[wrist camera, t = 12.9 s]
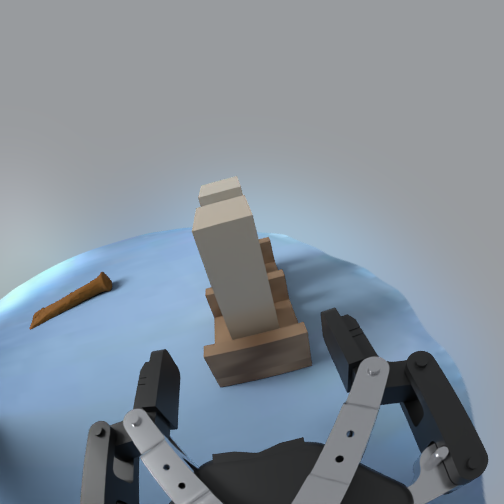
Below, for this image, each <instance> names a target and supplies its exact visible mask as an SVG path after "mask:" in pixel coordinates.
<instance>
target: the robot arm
mask: <svg viewBox="0 0 504 504" xmlns="http://www.w3.org/2000/svg"><path fill="white" fill-rule="evenodd" d="M321 322H322V332H323V338H324V341H325V344H326V346H327V348H328V351H329V353H330V355H331V357H332V360H333V362H334V364H335V366H336V368H337V371H338V373H339V375H340V378H341V380H342V382H343V384H344V387H345V389H346V391H347V393H348V392H350V393H349V396H348V398H347V401H346V402H345V403H344V404H343V406H342V408H341V410H340V412H339V415H338V417H337V420H336V422H335V424H334V426H333V429H332V431H331V433H330V435H329V437H328V440H327V442H326V444H322V443H316V442H304V438H303V437H302V438H299V439H295V440H291V441H287V442H282V443H279V444H277V445H275V446H273V447H271V448H268V449H266V450H264V451H261V452H259V453H247V452H228V453H220V454H212V456H213V460H211V461H209V462H207V463H205V464H203V465H202V466H200V467H199V466H198V465H196V464H195V463H194V462H193V461H192V460H191V459H190V458H189V457H188V456H187V455H186V453H185V452H184V451H183V450H182V449H181V448H180V447H179V445H178V444H177V443H176V442H175V441H174V440H173V438H172V437H171V436H170V430H174V429H178V407H179V390H180V372H179V369H178V367H177V365H176V364H175V362H174V361H173V359H172V357H171V356H170V354H169V353H168V351H167V350H166V349H164V350H158V351H153V352H151V356H150V361H149V362H145V364H144V365H143V367H142V369H141V371H140V375H139V380H138V386H137V391H136V396H135V402H134V407H133V410H131V411H129V412H128V413H127V414H126V415H125V417H124V420H123V421H121V422H119V423H116V424H113V425H109V424H108V423H106V422H104V421H98V422H96V423H94V424H93V425H92V426H91V428H90V430H89V434H88V440H87V446H86V452H85V460H84V467H83V476H82V486H81V499H80V504H139V457H140V458H141V460H142V461H143V463H144V464H145V466H146V467H147V468H148V470H149V471H150V473H151V474H152V475H153V477H154V478H155V479H156V481H157V482H158V483H159V485H160V486H161V487H162V488H163V490H164V491H165V492H166V493H167V495H168V496H169V497H170V498H171V500H172V501H171V502H170V503H169V504H425V503H427V502H429V501H431V500H433V499H435V498H437V497H439V496H440V495H445V494H449V493H451V492H453V491H455V490H457V489H459V488H460V487H462V486H464V485H466V484H467V483H469V482H471V481H472V480H474V479H476V478H477V477H479V476H480V475H481V474H482V473H483V472H484V471H485V469H486V467H487V464H488V455H487V453H486V450H485V448H484V446H483V444H482V442H481V440H480V438H479V436H478V434H477V432H476V430H475V428H474V426H473V424H472V422H471V420H470V418H469V416H468V415H467V413H466V411H465V409H464V407H463V405H462V404H461V402H460V400H459V398H458V397H457V395H456V393H455V391H454V390H453V388H452V386H451V385H450V383H449V381H448V380H447V378H446V376H445V375H444V373H443V371H442V370H441V368H440V367H439V365H438V363H437V362H436V360H435V359H434V357H433V356H432V355H431V354H430V353H428V352H425V351H417V352H414V353H412V354H411V355H410V356H409V357H408V359H407V360H405V361H397V362H389V361H386V360H385V359H383V358H381V357H379V356H378V355H377V354H376V352H375V350H374V349H373V347H372V346H371V344H370V342H369V341H368V339H367V337H366V336H365V334H364V332H363V331H362V329H361V328H360V326H359V324H358V323H357V321H356V320H355V319H354V318H352V317H351V316H349V315H348V314H347V315H344V316H340V314H339V313H338V311H337V309H336V308H332V309H329V310H326V311H323V312H321ZM392 403H400V405H401V408H402V410H403V412H404V414H405V417H406V419H407V421H408V423H409V426H410V428H411V430H412V433H413V435H414V437H415V440H416V442H417V445H418V447H419V450H420V452H421V455H420V456H419V457H418V458H417V459H416V461H415V463H414V465H413V473H414V478H413V481H412V483H411V485H410V486H409V487H406V486H405V485H404V484H402V483H401V482H398V481H396V480H394V479H392V478H390V477H388V476H386V475H383V474H381V473H379V472H377V471H375V470H373V469H371V468H369V467H367V466H365V465H363V464H362V463H360V462H361V460H362V457H363V455H364V452H365V450H366V447H367V444H368V441H369V439H370V436H371V433H372V430H373V427H374V424H375V421H376V418H377V415H378V412H379V409H380V405H384V404H392Z"/></svg>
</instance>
